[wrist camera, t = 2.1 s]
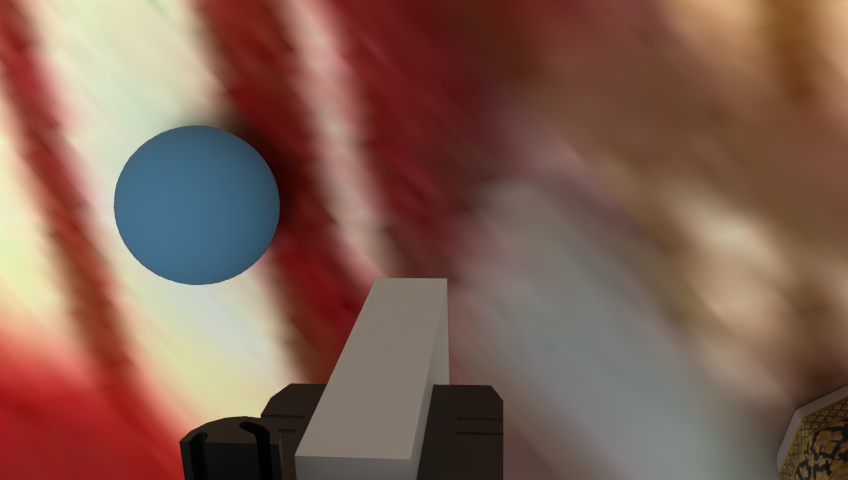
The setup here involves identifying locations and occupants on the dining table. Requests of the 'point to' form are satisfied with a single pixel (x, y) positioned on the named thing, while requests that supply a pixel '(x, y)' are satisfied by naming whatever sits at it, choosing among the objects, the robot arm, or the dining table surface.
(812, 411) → the ceramic cup
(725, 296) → the dining table surface
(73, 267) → the dining table surface
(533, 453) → the dining table surface
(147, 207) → the ball
